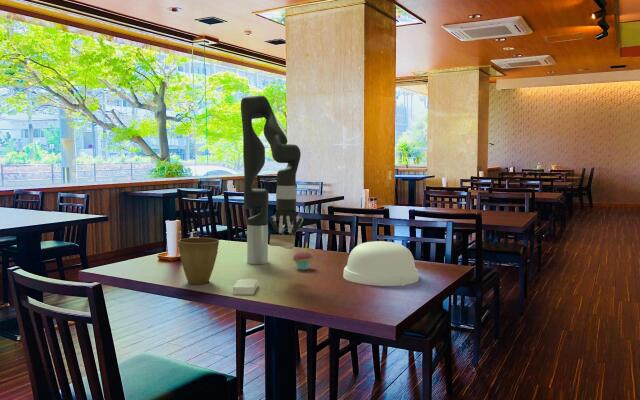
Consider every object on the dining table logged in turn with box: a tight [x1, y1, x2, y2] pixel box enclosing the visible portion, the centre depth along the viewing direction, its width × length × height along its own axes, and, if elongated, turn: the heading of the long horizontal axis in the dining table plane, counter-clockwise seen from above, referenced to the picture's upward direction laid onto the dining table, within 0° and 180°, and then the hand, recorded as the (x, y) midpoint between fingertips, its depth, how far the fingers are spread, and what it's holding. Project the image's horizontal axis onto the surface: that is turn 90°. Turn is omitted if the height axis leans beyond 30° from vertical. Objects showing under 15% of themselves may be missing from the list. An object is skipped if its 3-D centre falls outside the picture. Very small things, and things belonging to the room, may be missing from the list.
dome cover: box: [342, 240, 420, 287], centre depth 207 cm, size 32×30×14 cm
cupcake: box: [292, 240, 314, 271], centre depth 222 cm, size 9×8×12 cm
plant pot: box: [177, 237, 220, 285], centre depth 195 cm, size 15×15×16 cm
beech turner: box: [268, 233, 296, 250], centre depth 198 cm, size 14×9×4 cm, turn 167°
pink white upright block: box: [232, 278, 259, 295], centre depth 184 cm, size 3×7×12 cm
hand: (286, 243), depth 197 cm, fingers closed on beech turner, 2 cm apart
